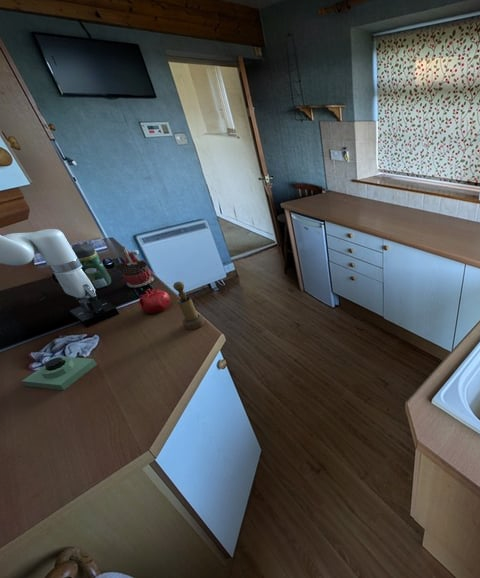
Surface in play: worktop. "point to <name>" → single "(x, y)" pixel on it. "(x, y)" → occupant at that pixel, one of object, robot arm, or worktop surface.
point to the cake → (135, 270)
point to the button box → (60, 374)
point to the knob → (84, 304)
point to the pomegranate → (154, 301)
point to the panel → (95, 314)
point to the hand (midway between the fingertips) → (92, 308)
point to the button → (54, 363)
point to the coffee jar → (92, 265)
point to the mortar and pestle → (188, 309)
